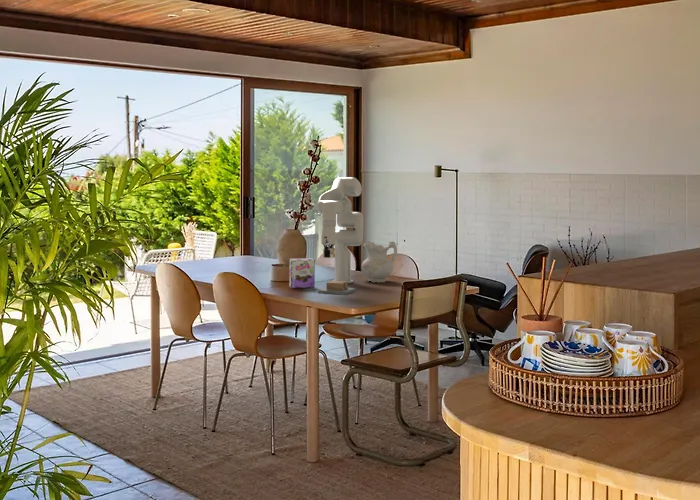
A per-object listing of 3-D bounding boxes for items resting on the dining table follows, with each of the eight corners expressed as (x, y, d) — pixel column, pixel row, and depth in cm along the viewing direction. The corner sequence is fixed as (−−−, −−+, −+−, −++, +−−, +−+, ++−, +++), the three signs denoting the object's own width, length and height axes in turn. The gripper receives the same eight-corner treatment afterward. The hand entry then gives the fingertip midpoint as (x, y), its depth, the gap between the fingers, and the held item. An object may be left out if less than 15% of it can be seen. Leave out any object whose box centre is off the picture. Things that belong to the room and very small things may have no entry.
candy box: (291, 288, 475) (291, 259, 474) (288, 287, 481) (289, 258, 479) (314, 287, 479) (315, 259, 477) (312, 286, 484) (312, 258, 483)
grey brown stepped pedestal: (328, 289, 472) (328, 279, 472) (355, 290, 467) (355, 281, 467) (318, 293, 457) (318, 283, 457) (346, 294, 452) (346, 284, 452)
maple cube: (326, 256, 465) (326, 247, 465) (334, 257, 464) (334, 248, 463) (323, 257, 461) (323, 248, 460) (331, 258, 459) (331, 249, 458)
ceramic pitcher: (397, 281, 518) (398, 241, 517) (396, 283, 498) (396, 241, 498) (362, 281, 520) (363, 240, 519) (360, 282, 500) (360, 240, 500)
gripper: (328, 222, 470) (328, 255, 471) (316, 224, 454) (316, 258, 455) (341, 223, 467) (341, 255, 469) (329, 224, 451) (329, 258, 453)
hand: (329, 256), depth 462 cm, fingers closed on maple cube, 5 cm apart
